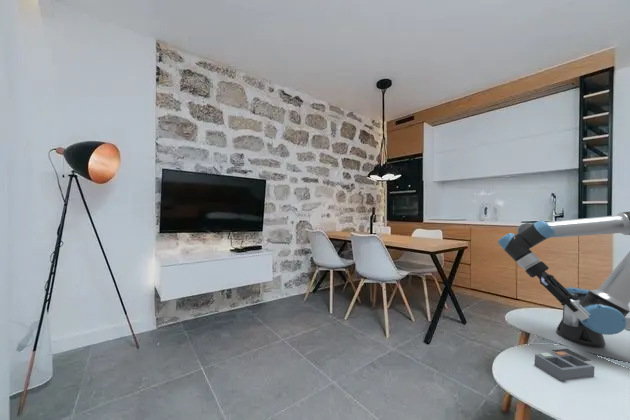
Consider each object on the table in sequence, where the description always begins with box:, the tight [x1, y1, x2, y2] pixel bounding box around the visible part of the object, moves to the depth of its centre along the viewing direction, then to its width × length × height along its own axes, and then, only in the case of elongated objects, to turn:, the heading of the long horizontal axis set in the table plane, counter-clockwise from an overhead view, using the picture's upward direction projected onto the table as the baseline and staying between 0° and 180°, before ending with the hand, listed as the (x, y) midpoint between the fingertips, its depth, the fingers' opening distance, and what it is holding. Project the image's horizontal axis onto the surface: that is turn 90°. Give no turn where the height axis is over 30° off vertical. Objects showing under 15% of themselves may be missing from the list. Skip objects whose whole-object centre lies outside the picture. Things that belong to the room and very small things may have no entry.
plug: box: [564, 293, 580, 327], centre depth 100 cm, size 4×4×12 cm
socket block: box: [533, 351, 595, 382], centre depth 91 cm, size 14×9×4 cm, turn 101°
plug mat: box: [551, 348, 592, 362], centre depth 100 cm, size 8×8×1 cm
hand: (585, 317), depth 97 cm, fingers closed on plug, 4 cm apart
